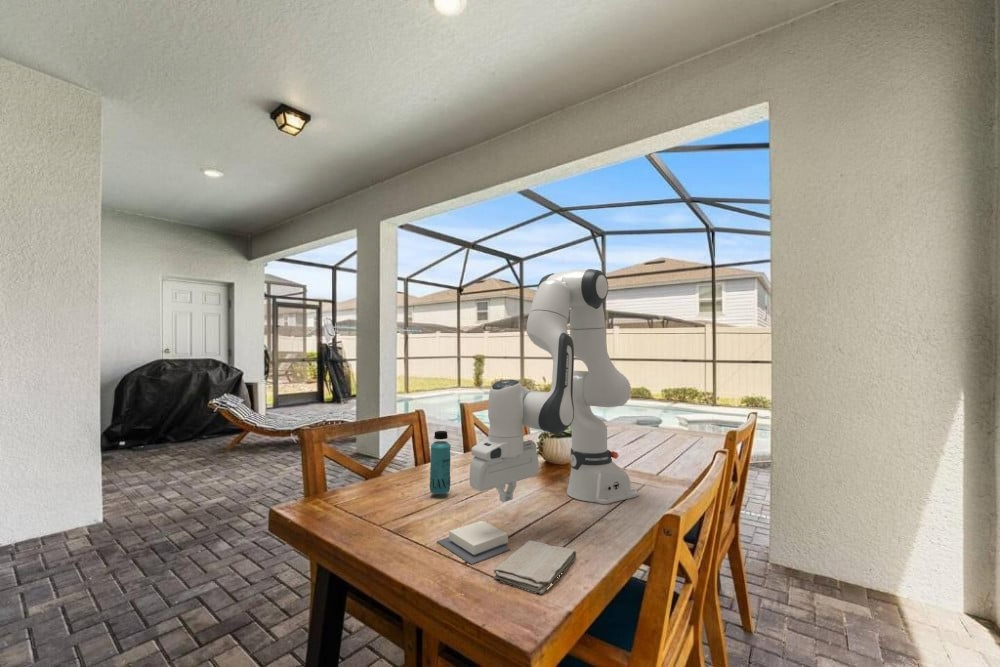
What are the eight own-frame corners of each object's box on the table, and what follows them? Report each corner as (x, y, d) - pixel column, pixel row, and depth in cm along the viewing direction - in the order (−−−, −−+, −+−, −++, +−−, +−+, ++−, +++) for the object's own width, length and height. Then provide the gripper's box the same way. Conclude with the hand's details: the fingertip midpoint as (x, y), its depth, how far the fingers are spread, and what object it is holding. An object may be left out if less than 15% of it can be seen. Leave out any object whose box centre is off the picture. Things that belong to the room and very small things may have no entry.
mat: (473, 530, 113) (474, 529, 113) (510, 550, 102) (510, 548, 102) (436, 542, 106) (436, 541, 106) (471, 565, 95) (471, 563, 95)
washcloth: (490, 583, 89) (490, 567, 89) (528, 547, 105) (528, 534, 105) (545, 600, 83) (545, 583, 84) (576, 559, 99) (577, 545, 99)
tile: (482, 520, 112) (449, 530, 106) (508, 533, 105) (473, 545, 98) (482, 530, 112) (448, 541, 106) (507, 544, 105) (473, 557, 98)
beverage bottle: (425, 497, 137) (426, 432, 137) (436, 490, 143) (437, 428, 143) (444, 500, 134) (444, 434, 135) (454, 493, 141) (454, 430, 141)
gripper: (527, 436, 120) (527, 487, 120) (465, 449, 107) (466, 506, 107) (544, 440, 115) (544, 494, 115) (481, 454, 102) (481, 514, 102)
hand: (506, 500), depth 111 cm, fingers closed
